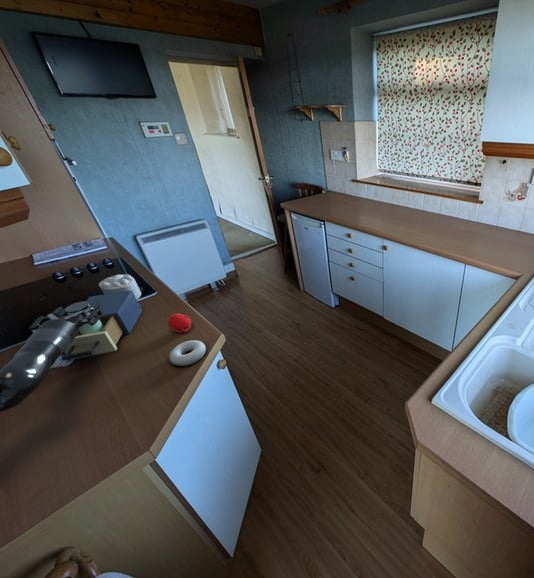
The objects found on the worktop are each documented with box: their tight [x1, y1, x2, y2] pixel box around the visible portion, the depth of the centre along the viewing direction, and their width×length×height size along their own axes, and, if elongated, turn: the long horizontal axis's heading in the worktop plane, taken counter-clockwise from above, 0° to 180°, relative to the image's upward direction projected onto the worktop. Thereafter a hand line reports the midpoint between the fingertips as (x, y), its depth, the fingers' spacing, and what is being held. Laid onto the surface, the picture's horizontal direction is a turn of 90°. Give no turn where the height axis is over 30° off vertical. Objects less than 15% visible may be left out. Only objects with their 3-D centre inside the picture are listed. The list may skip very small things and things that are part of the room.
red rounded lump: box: [167, 313, 192, 334], centre depth 104 cm, size 8×6×6 cm
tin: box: [64, 300, 104, 335], centre depth 93 cm, size 6×6×14 cm
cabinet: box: [85, 291, 143, 336], centre depth 104 cm, size 15×13×9 cm
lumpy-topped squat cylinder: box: [98, 273, 142, 300], centre depth 120 cm, size 10×13×9 cm
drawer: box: [61, 315, 124, 361], centre depth 94 cm, size 19×12×7 cm, turn 21°
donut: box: [169, 339, 207, 367], centre depth 93 cm, size 10×4×10 cm
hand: (79, 306), depth 90 cm, fingers open, 8 cm apart
